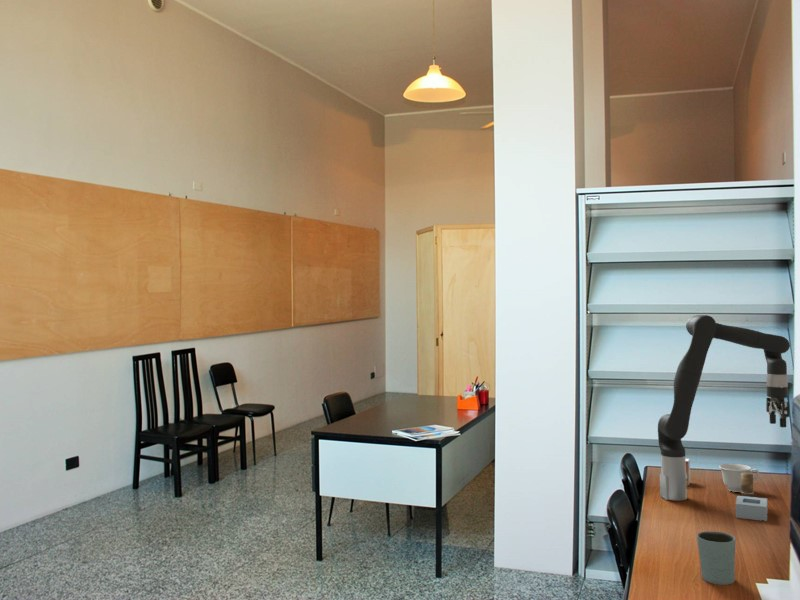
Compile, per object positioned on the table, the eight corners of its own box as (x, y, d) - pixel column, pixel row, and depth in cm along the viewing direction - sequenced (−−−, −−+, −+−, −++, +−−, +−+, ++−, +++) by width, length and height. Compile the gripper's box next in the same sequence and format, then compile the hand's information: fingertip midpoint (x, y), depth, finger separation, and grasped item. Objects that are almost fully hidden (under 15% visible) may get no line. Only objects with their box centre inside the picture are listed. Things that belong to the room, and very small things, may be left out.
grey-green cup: (724, 588, 190) (723, 544, 190) (690, 577, 198) (689, 535, 199) (743, 579, 196) (742, 536, 196) (710, 569, 204) (708, 528, 205)
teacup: (758, 497, 277) (758, 472, 277) (718, 492, 285) (717, 468, 285) (761, 490, 287) (760, 465, 287) (721, 486, 295) (721, 462, 295)
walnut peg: (745, 506, 265) (744, 475, 265) (739, 503, 269) (738, 472, 269) (756, 506, 265) (755, 474, 265) (750, 503, 269) (749, 472, 269)
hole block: (766, 521, 247) (766, 506, 247) (735, 517, 252) (735, 503, 252) (767, 511, 258) (767, 498, 258) (737, 508, 262) (737, 495, 262)
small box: (669, 483, 301) (668, 459, 301) (670, 480, 306) (670, 457, 306) (689, 485, 297) (688, 461, 297) (690, 482, 302) (689, 458, 302)
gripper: (759, 383, 287) (760, 422, 287) (776, 387, 273) (776, 428, 273) (778, 383, 287) (778, 422, 287) (795, 387, 273) (796, 428, 273)
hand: (777, 425), depth 280 cm, fingers open, 8 cm apart
